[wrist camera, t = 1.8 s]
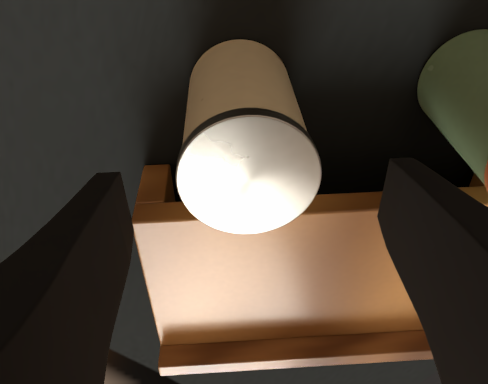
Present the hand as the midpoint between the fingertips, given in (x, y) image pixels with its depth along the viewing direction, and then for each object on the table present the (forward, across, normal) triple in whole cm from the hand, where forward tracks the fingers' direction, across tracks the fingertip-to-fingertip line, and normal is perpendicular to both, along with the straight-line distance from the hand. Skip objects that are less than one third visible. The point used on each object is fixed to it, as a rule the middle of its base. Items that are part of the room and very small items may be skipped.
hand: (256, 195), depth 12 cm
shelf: (+7, -4, +8) cm, 12 cm away
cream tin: (+7, 0, 0) cm, 7 cm away
